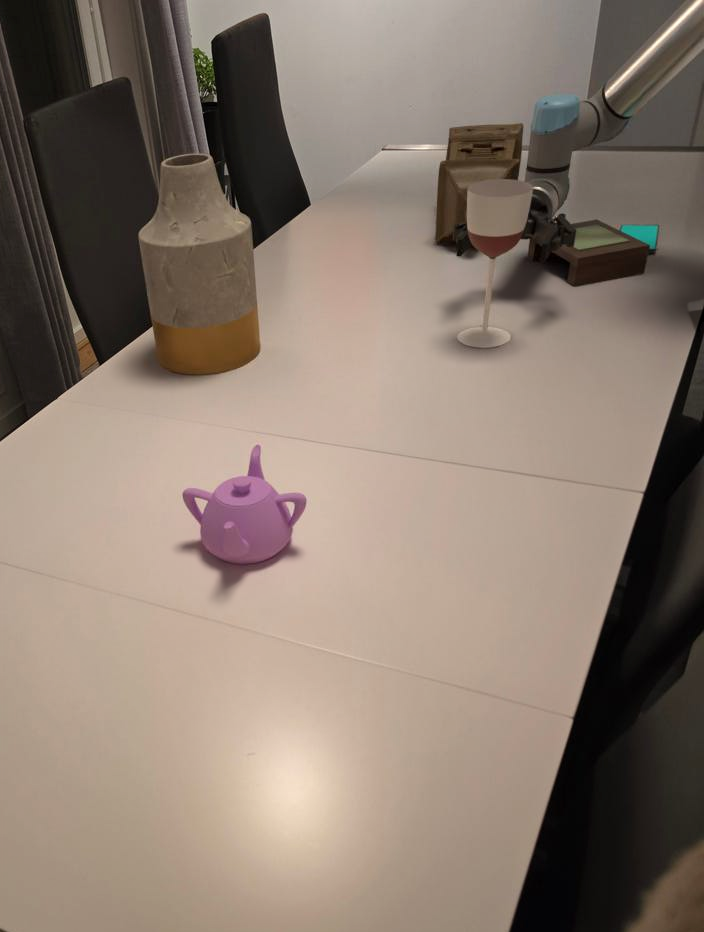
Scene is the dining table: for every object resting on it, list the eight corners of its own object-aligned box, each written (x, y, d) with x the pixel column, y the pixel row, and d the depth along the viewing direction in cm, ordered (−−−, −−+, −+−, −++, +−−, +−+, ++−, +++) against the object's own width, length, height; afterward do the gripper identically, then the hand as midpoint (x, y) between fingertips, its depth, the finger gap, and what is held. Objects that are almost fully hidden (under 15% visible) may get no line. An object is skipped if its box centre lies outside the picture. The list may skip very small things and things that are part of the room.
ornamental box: (506, 271, 169) (531, 172, 156) (418, 261, 173) (436, 162, 159) (511, 214, 193) (534, 124, 180) (434, 206, 196) (451, 116, 183)
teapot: (262, 502, 110) (258, 442, 104) (319, 553, 101) (317, 490, 95) (182, 532, 107) (172, 472, 101) (232, 588, 97) (225, 525, 91)
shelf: (643, 273, 155) (650, 243, 152) (573, 286, 154) (578, 257, 150) (591, 245, 168) (597, 218, 165) (526, 257, 167) (530, 229, 164)
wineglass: (480, 353, 137) (496, 201, 122) (443, 334, 144) (454, 187, 129) (525, 339, 139) (547, 187, 124) (487, 321, 146) (503, 175, 131)
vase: (163, 382, 141) (131, 183, 121) (153, 340, 155) (123, 156, 134) (269, 364, 142) (256, 164, 122) (250, 325, 156) (235, 139, 135)
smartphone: (659, 224, 171) (656, 249, 161) (658, 229, 171) (655, 253, 161) (620, 224, 173) (615, 248, 163) (619, 228, 174) (614, 252, 164)
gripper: (601, 237, 147) (576, 279, 134) (460, 230, 157) (424, 269, 144) (609, 190, 142) (585, 229, 129) (464, 186, 152) (427, 222, 139)
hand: (500, 250), depth 136 cm, fingers open, 13 cm apart
